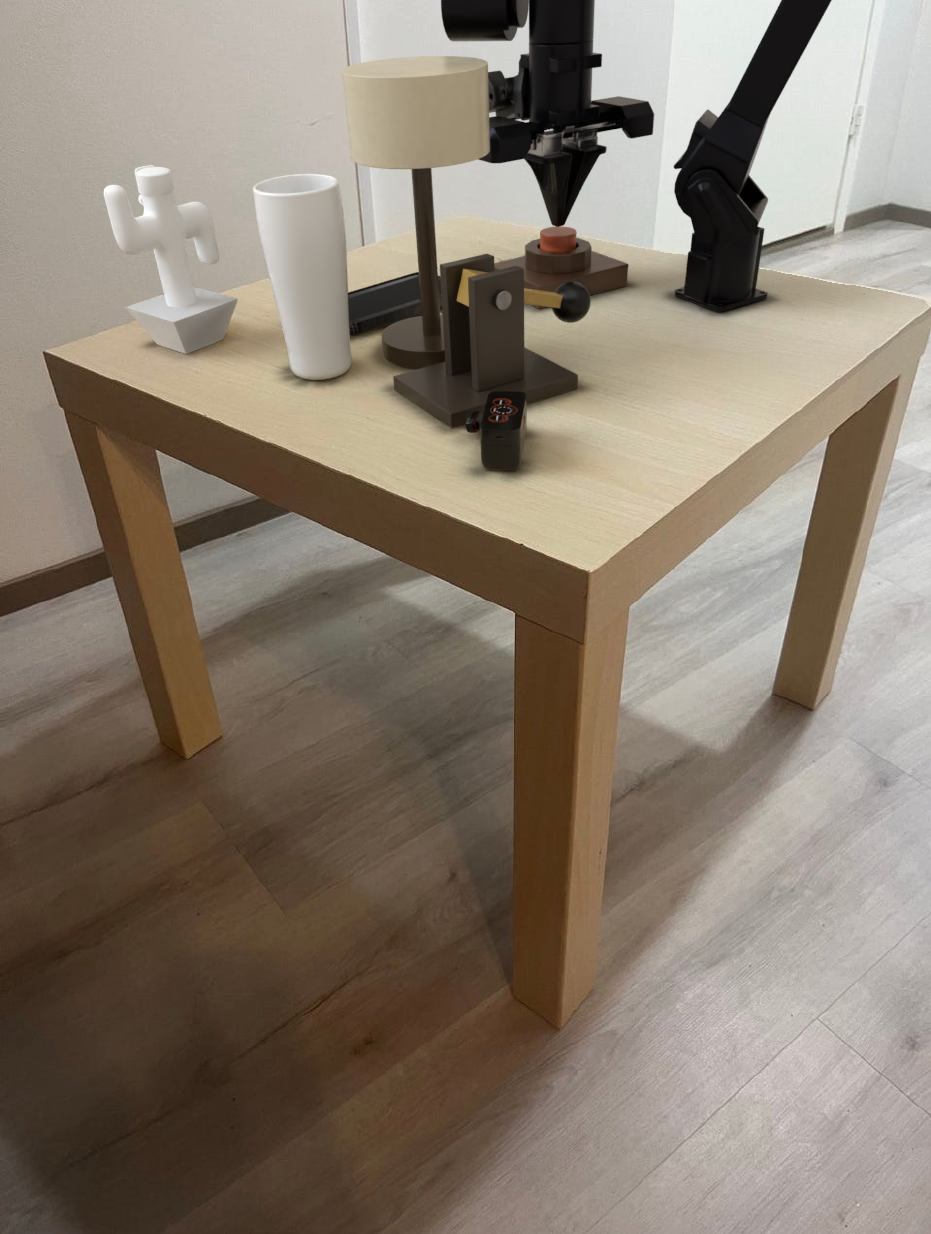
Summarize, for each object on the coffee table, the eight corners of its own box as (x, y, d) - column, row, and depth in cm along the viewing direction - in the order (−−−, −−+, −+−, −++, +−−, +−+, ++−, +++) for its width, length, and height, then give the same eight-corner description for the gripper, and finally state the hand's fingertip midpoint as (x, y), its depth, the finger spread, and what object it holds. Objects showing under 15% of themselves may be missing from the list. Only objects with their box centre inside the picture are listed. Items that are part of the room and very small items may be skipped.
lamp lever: (568, 318, 79) (578, 279, 78) (592, 329, 77) (603, 289, 75) (451, 304, 72) (460, 261, 71) (473, 315, 70) (483, 271, 69)
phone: (301, 306, 90) (422, 270, 98) (303, 318, 91) (423, 280, 98) (347, 326, 85) (471, 286, 93) (349, 338, 86) (472, 297, 93)
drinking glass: (328, 392, 77) (301, 198, 68) (266, 377, 80) (232, 189, 71) (376, 363, 81) (357, 177, 72) (316, 350, 84) (290, 170, 75)
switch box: (573, 265, 101) (574, 226, 99) (627, 285, 95) (629, 245, 92) (488, 286, 97) (487, 246, 94) (539, 309, 90) (539, 267, 88)
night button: (561, 242, 96) (561, 224, 94) (583, 250, 93) (583, 231, 92) (532, 249, 94) (532, 230, 93) (554, 257, 92) (554, 238, 91)
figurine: (254, 334, 88) (223, 161, 79) (172, 366, 83) (128, 184, 74) (206, 319, 92) (171, 153, 83) (125, 349, 86) (77, 175, 77)
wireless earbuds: (528, 427, 70) (527, 386, 68) (520, 473, 64) (520, 430, 62) (466, 426, 71) (464, 386, 69) (453, 472, 65) (451, 429, 63)
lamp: (453, 319, 89) (439, 52, 76) (519, 353, 82) (516, 64, 68) (350, 346, 85) (317, 68, 72) (410, 385, 77) (385, 82, 64)
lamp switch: (514, 355, 82) (513, 238, 76) (577, 388, 75) (581, 264, 69) (394, 389, 77) (382, 268, 71) (451, 428, 70) (444, 299, 65)
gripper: (587, 25, 92) (582, 194, 101) (424, 45, 85) (435, 226, 94) (664, 33, 84) (650, 215, 94) (492, 55, 77) (496, 251, 86)
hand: (557, 225), depth 92 cm, fingers closed
